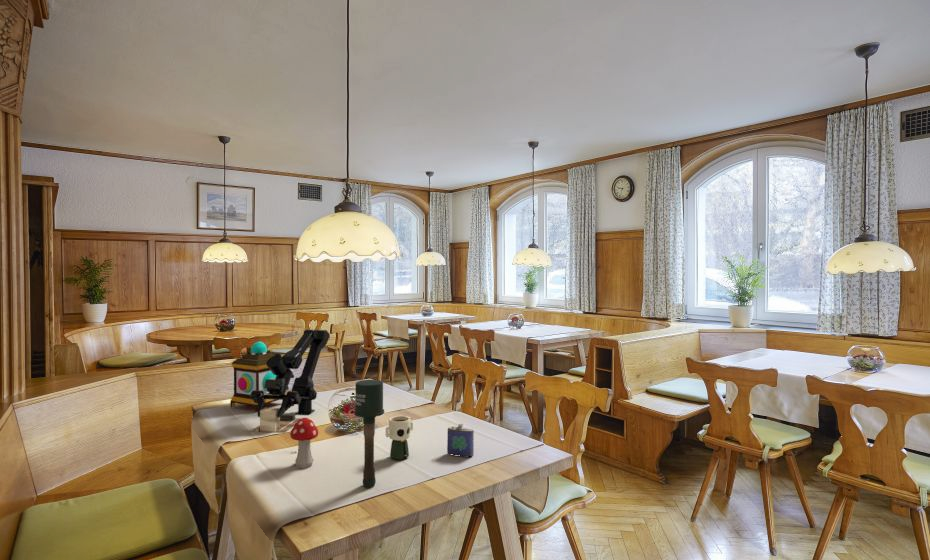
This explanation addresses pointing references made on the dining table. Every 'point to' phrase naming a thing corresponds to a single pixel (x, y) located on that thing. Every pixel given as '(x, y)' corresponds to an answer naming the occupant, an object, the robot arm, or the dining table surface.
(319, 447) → the dining table surface
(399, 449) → the character mug
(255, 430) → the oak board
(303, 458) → the decorative mushroom
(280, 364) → the robot arm
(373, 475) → the potato masher grenade
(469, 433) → the flask
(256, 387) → the decorative lantern
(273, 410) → the cream rectangular block
